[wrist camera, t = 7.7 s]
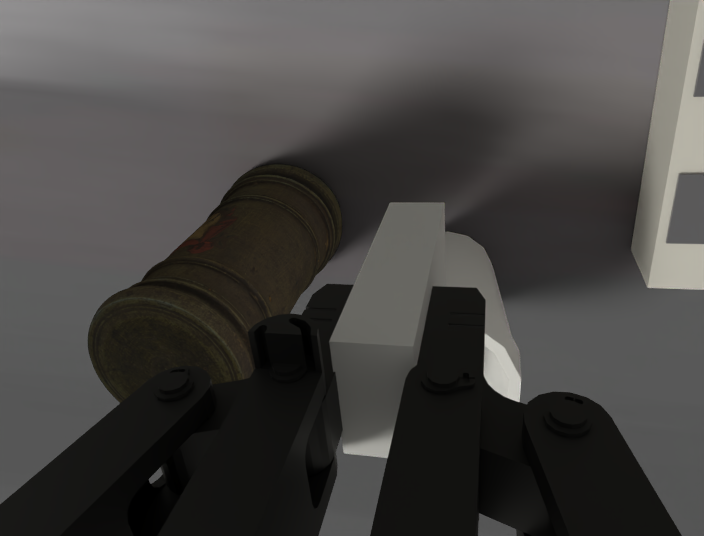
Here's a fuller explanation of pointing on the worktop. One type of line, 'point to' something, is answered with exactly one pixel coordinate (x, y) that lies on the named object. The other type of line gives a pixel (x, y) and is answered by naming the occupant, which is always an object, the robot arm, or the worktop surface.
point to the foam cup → (486, 311)
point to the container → (220, 283)
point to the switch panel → (675, 160)
